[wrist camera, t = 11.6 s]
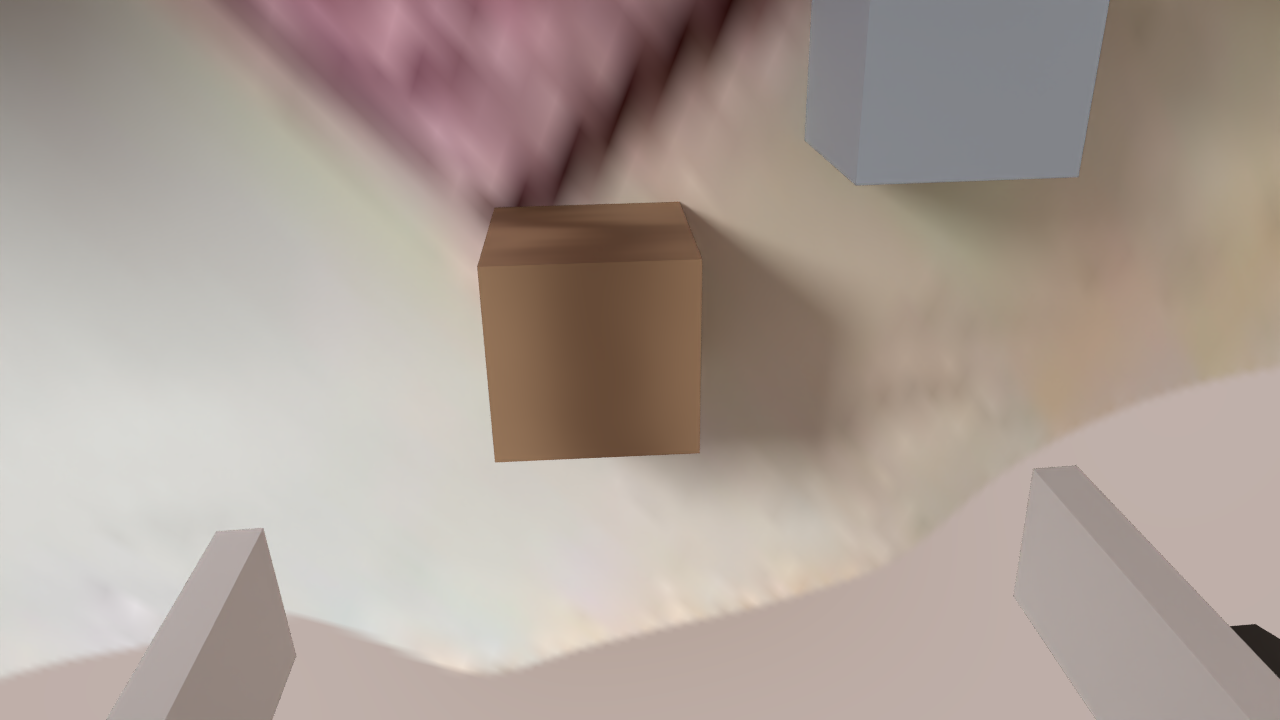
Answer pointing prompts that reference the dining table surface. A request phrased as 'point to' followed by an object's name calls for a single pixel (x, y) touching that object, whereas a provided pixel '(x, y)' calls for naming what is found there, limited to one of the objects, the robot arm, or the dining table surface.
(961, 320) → the dining table surface
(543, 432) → the walnut cube
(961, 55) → the slate block
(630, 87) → the dining table surface
